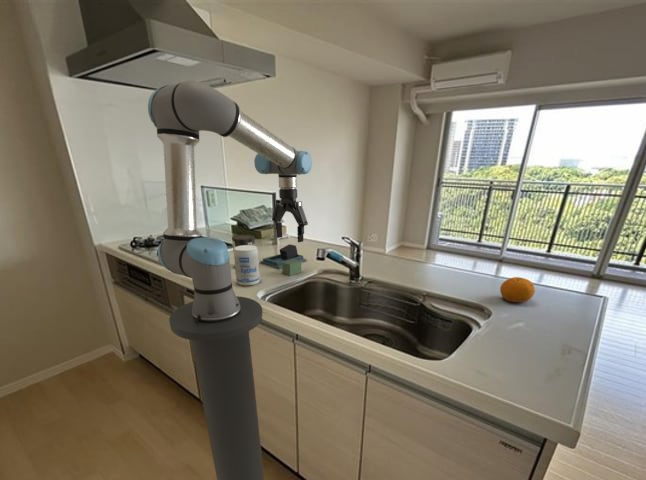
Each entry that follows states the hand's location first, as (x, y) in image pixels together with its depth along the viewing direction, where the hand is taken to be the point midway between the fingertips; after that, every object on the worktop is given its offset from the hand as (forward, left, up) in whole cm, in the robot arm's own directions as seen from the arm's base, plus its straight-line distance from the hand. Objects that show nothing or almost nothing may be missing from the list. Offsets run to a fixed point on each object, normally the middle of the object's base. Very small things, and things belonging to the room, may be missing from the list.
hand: (289, 239), depth 149 cm
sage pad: (-2, -3, -14) cm, 14 cm away
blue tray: (+7, +13, -14) cm, 20 cm away
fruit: (+30, -85, -14) cm, 91 cm away
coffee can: (-10, +21, -14) cm, 27 cm away
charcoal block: (+11, +13, -12) cm, 21 cm away
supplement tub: (-23, +1, -14) cm, 27 cm away
